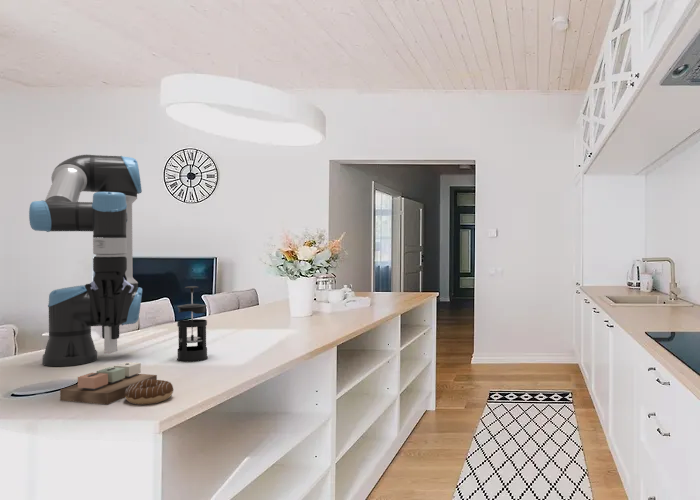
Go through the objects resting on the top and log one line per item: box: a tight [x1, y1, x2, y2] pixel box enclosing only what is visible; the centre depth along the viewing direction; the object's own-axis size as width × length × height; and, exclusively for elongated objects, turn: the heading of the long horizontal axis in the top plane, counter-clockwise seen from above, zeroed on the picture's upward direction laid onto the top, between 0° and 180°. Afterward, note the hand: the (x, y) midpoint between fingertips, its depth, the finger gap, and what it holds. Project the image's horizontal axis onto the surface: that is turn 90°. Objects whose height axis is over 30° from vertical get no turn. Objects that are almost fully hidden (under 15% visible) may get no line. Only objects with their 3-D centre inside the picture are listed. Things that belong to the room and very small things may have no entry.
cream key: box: [113, 361, 142, 376], centre depth 137 cm, size 4×4×3 cm
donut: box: [124, 379, 174, 406], centre depth 125 cm, size 11×11×4 cm
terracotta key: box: [77, 372, 108, 389], centre depth 125 cm, size 4×4×3 cm
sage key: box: [96, 366, 125, 382], centre depth 131 cm, size 4×4×3 cm
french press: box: [176, 285, 209, 363], centre depth 170 cm, size 12×9×23 cm
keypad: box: [59, 373, 158, 406], centre depth 131 cm, size 13×18×4 cm
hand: (110, 352), depth 131 cm, fingers closed
